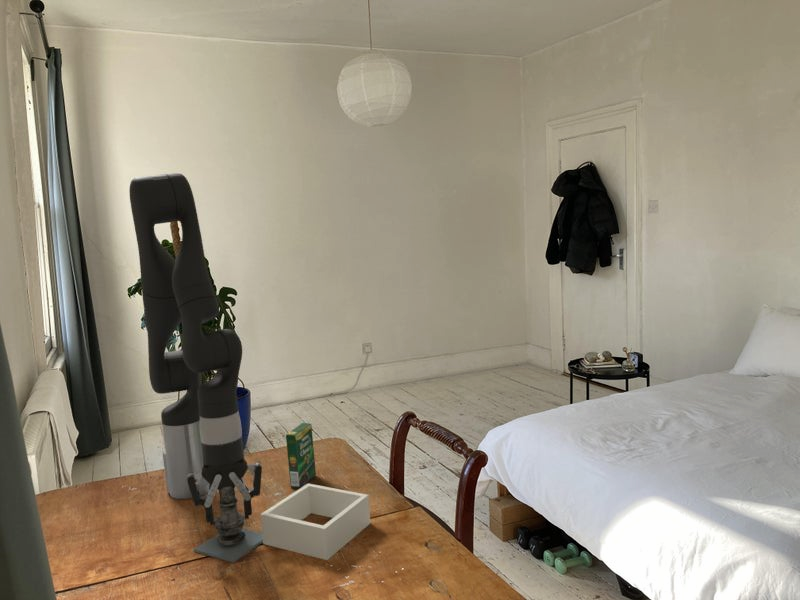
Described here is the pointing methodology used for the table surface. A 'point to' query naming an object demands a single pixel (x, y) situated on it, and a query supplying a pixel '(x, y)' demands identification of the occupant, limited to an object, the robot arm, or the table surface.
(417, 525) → the table surface
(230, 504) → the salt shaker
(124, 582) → the table surface
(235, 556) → the mat
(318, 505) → the frame
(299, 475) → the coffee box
